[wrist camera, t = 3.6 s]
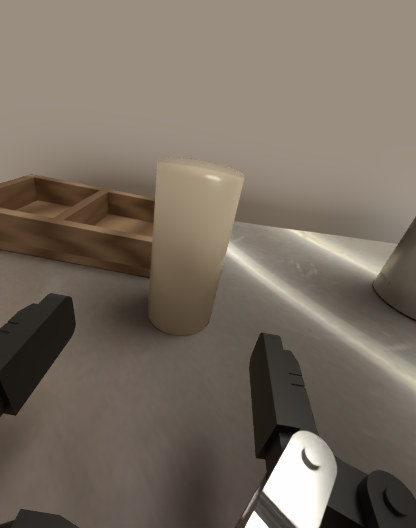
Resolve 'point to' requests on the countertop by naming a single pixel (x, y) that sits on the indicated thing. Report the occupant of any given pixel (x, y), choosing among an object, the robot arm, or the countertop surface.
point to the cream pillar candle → (189, 241)
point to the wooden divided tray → (77, 224)
